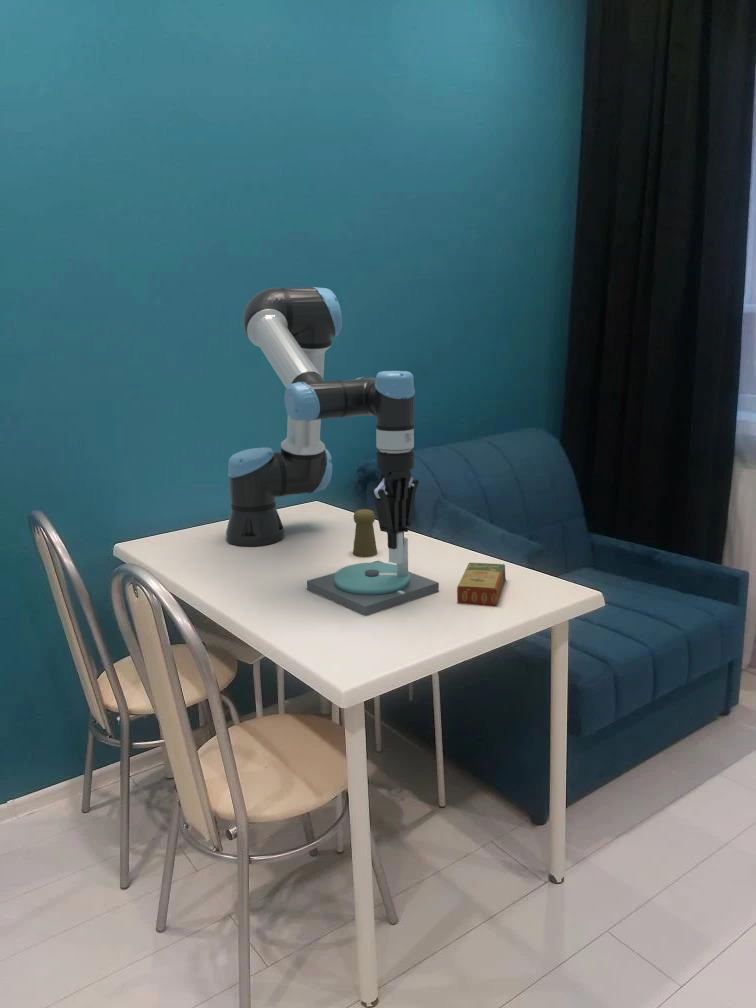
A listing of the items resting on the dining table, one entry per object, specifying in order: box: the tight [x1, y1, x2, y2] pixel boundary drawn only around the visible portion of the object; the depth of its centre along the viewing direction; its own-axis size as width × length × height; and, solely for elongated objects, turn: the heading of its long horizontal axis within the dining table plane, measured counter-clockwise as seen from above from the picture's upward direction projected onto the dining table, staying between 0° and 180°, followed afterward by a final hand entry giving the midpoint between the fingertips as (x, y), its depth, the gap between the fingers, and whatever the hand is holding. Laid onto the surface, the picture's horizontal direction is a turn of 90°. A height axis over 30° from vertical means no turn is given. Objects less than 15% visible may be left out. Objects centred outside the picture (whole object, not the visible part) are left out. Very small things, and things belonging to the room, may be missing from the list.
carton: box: [456, 562, 507, 607], centre depth 165 cm, size 8×16×4 cm, turn 165°
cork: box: [352, 508, 378, 558], centre depth 190 cm, size 6×6×11 cm
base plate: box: [306, 560, 440, 617], centre depth 166 cm, size 20×20×2 cm
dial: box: [334, 536, 410, 595], centre depth 165 cm, size 16×16×10 cm
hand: (396, 562), depth 161 cm, fingers closed
